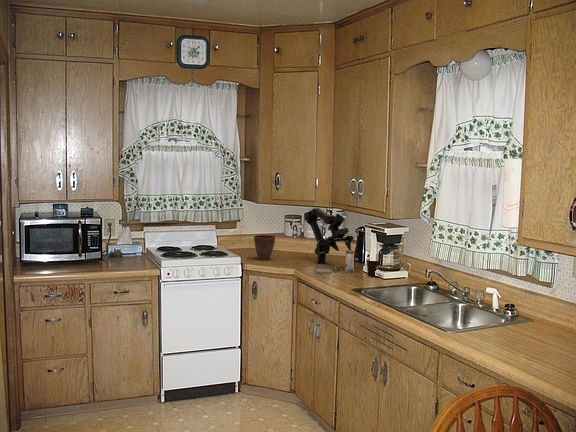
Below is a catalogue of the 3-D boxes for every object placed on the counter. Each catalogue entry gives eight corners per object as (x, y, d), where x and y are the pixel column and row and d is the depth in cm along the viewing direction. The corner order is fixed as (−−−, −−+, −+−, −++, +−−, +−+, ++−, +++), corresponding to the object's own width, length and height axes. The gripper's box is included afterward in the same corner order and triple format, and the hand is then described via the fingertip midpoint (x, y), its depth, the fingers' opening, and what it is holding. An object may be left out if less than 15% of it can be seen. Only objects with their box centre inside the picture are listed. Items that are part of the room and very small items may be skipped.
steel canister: (344, 270, 378) (344, 250, 377) (352, 270, 379) (353, 250, 378) (346, 272, 373) (346, 251, 372) (354, 272, 374) (355, 251, 372)
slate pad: (315, 270, 376) (315, 269, 376) (329, 270, 377) (329, 269, 377) (317, 273, 367) (317, 271, 367) (331, 273, 368) (331, 271, 368)
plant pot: (274, 261, 405) (275, 238, 404) (252, 260, 405) (253, 237, 404) (275, 257, 420) (275, 235, 419) (253, 257, 420) (254, 234, 419)
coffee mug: (369, 277, 358) (369, 261, 357) (363, 274, 366) (364, 258, 366) (387, 277, 361) (387, 260, 360) (381, 274, 370) (381, 258, 369)
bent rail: (331, 269, 382) (331, 264, 381) (337, 269, 382) (338, 264, 382) (334, 273, 370) (335, 268, 369) (342, 273, 370) (342, 268, 370)
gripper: (328, 224, 379) (337, 243, 370) (352, 223, 388) (362, 242, 379) (321, 234, 386) (330, 254, 378) (345, 233, 395) (354, 252, 387)
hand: (344, 250), depth 380 cm, fingers open, 9 cm apart
